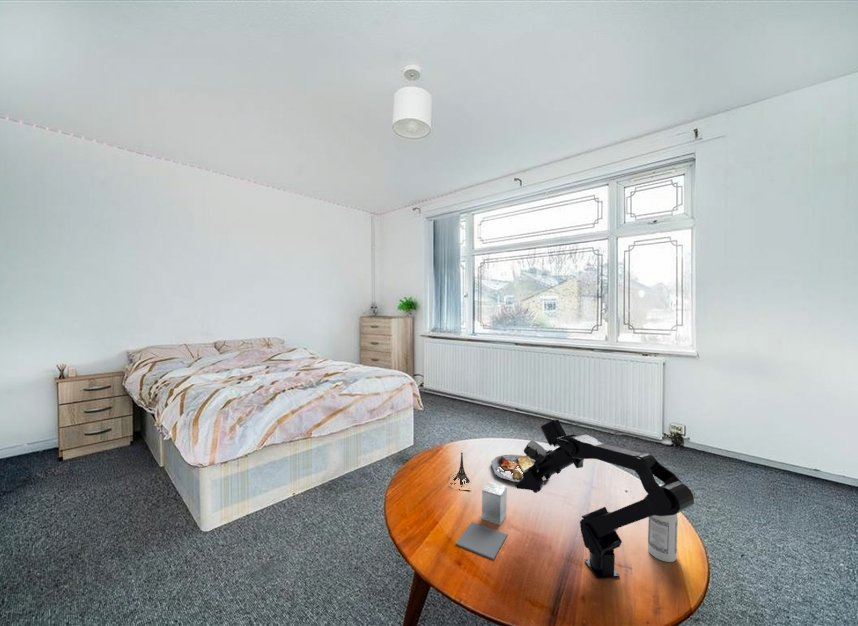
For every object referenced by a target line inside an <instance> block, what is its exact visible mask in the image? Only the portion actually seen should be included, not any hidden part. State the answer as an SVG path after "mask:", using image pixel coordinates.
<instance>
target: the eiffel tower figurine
mask: <svg viewBox="0 0 858 626" xmlns="http://www.w3.org/2000/svg"><path fill="white" fill-rule="evenodd" d="M459 464H460V465H459V468H458V472H457V474H455V477H453V478H454V479H453V480H454V481H455V480H456V479H457V478H459V479H460V485H462V486H464V485H463V482H462V480H463V479H465V478H466V479H465V480H466V483H468V484H470V483H471V482H470V479H469V477H468V476H467V474H466V472H465V468H464V467H465V466H464V459H463V451H461V452H460V463H459ZM459 479H458V480H459ZM469 482H470V483H469ZM450 484H451V485H452V484H453V483H450ZM455 484H456V483H454V485H455ZM464 484H465V481H464ZM465 485H466V484H465ZM468 492H471V491H470V490H469V491H468Z"/></svg>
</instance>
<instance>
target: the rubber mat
mask: <svg viewBox="0 0 858 626" xmlns="http://www.w3.org/2000/svg"><path fill="white" fill-rule="evenodd" d="M507 537H508V534H507V533H505V532H501V531H499V530H497V529H493V528H490V527H488V526H486V525H485V526H484V525H482V524H479V523H476V522H473V521H471V522H470V523H469V525H468V526H467V527H466V529H465V530H464V532H463V533H462V534H461V535H460V537H459V538H458V539H457V540H456V542H455V545H456V546H458V547H461V548H463V549H464V550H465V549H466V550H468V551H471V552H472V553H475V554H478V555H480V556H482V557H486V558H487V559H490V560H493V561H494V560H495V559H496V557H497V555H498V554H499V552H500V550H501V548H502V546H503V544H504V542H505V541H506V539H507Z"/></svg>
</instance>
